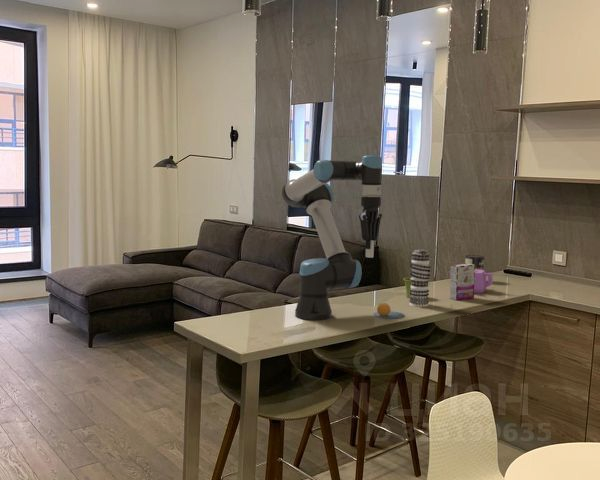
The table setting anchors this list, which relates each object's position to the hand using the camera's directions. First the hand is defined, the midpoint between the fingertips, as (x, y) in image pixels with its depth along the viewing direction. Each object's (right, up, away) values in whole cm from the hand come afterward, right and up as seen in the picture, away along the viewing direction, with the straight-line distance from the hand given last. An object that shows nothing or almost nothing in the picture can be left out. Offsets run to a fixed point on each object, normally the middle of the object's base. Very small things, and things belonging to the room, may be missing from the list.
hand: (369, 257), depth 237 cm
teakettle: (+60, -20, +76) cm, 99 cm away
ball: (+8, -22, +16) cm, 28 cm away
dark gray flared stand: (+70, -17, +105) cm, 127 cm away
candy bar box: (+50, -22, +55) cm, 78 cm away
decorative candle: (+27, -23, +40) cm, 53 cm away
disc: (+10, -25, +19) cm, 33 cm away
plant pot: (+27, -21, +58) cm, 67 cm away
